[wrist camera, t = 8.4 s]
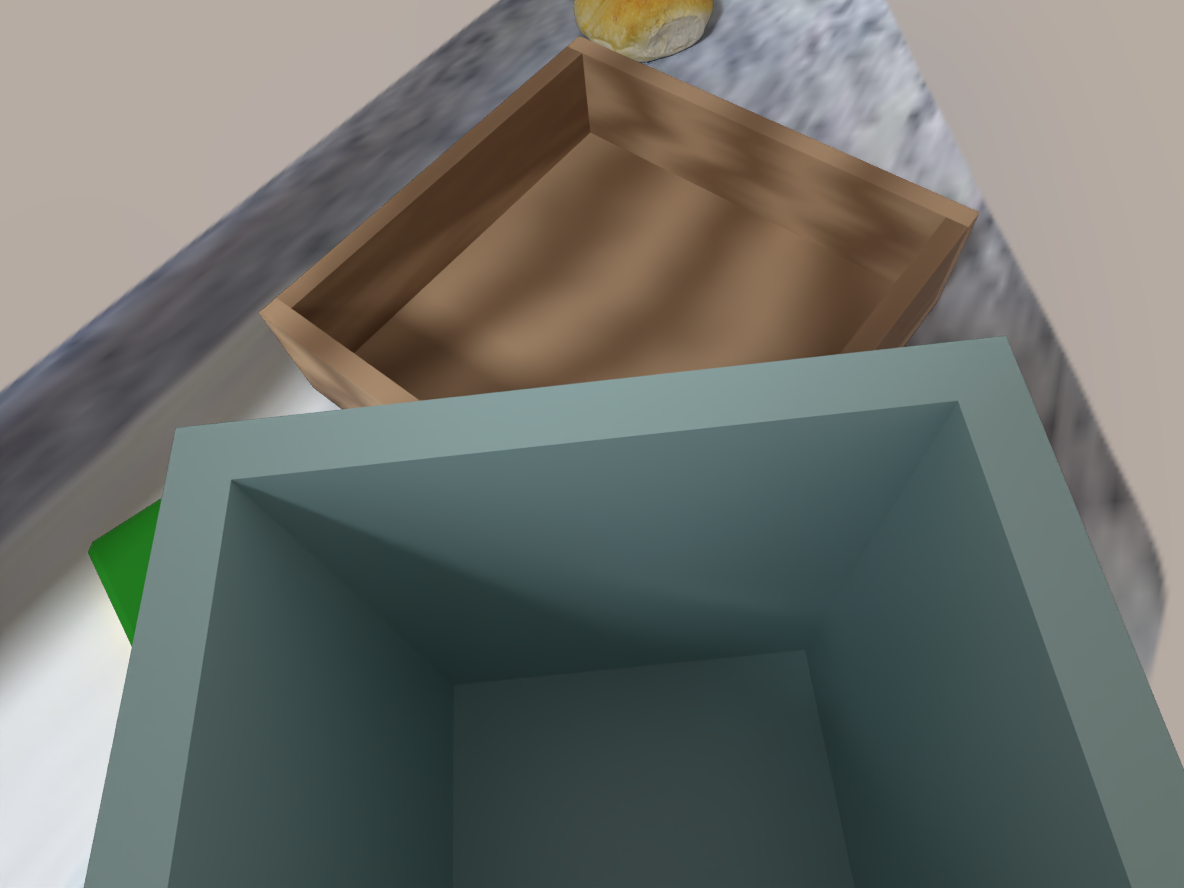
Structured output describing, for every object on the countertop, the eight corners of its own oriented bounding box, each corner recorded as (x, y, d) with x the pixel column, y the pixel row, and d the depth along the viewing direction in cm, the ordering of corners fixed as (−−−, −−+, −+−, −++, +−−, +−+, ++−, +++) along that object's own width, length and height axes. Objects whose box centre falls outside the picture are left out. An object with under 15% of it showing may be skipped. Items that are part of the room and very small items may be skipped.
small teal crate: (420, 1183, 15) (-106, 1838, 5) (429, 662, 20) (176, 427, 10) (942, 1142, 15) (1585, 1747, 5) (825, 622, 20) (1006, 336, 9)
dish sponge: (255, 475, 38) (231, 451, 36) (402, 711, 32) (383, 699, 30) (117, 564, 36) (83, 545, 34) (245, 830, 31) (214, 827, 29)
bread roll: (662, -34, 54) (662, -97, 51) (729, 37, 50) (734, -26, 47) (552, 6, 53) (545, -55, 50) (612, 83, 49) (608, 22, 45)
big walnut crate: (312, 387, 40) (258, 312, 34) (589, 130, 47) (579, 35, 42) (671, 659, 32) (672, 617, 27) (937, 301, 39) (979, 212, 34)
